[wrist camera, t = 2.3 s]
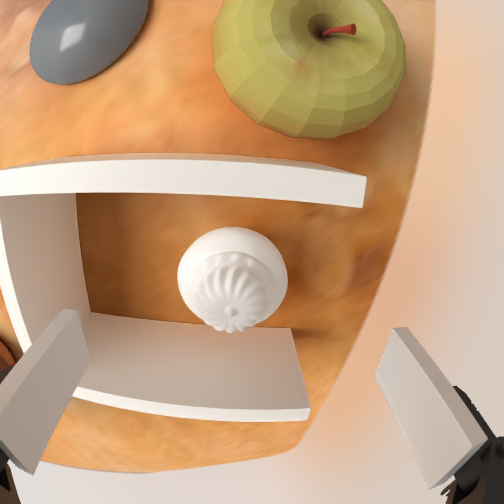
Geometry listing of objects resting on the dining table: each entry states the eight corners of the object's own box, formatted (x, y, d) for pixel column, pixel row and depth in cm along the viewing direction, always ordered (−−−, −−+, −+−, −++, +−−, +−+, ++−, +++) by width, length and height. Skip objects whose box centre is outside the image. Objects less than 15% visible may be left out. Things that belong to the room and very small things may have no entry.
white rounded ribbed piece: (181, 287, 20) (158, 350, 14) (197, 202, 18) (173, 236, 11) (265, 305, 21) (276, 372, 14) (291, 225, 19) (318, 269, 12)
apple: (379, 133, 17) (456, 134, 9) (233, 153, 17) (228, 159, 10) (348, 4, 13) (399, -49, 6) (204, 15, 14) (185, -52, 6)
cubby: (62, 157, 16) (-17, 173, 9) (314, 162, 17) (366, 177, 10) (82, 322, 21) (38, 385, 13) (288, 340, 22) (306, 420, 15)
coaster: (49, -9, 11) (46, -11, 10) (160, -39, 11) (159, -42, 11) (24, 96, 14) (21, 95, 14) (137, 74, 15) (134, 72, 14)
